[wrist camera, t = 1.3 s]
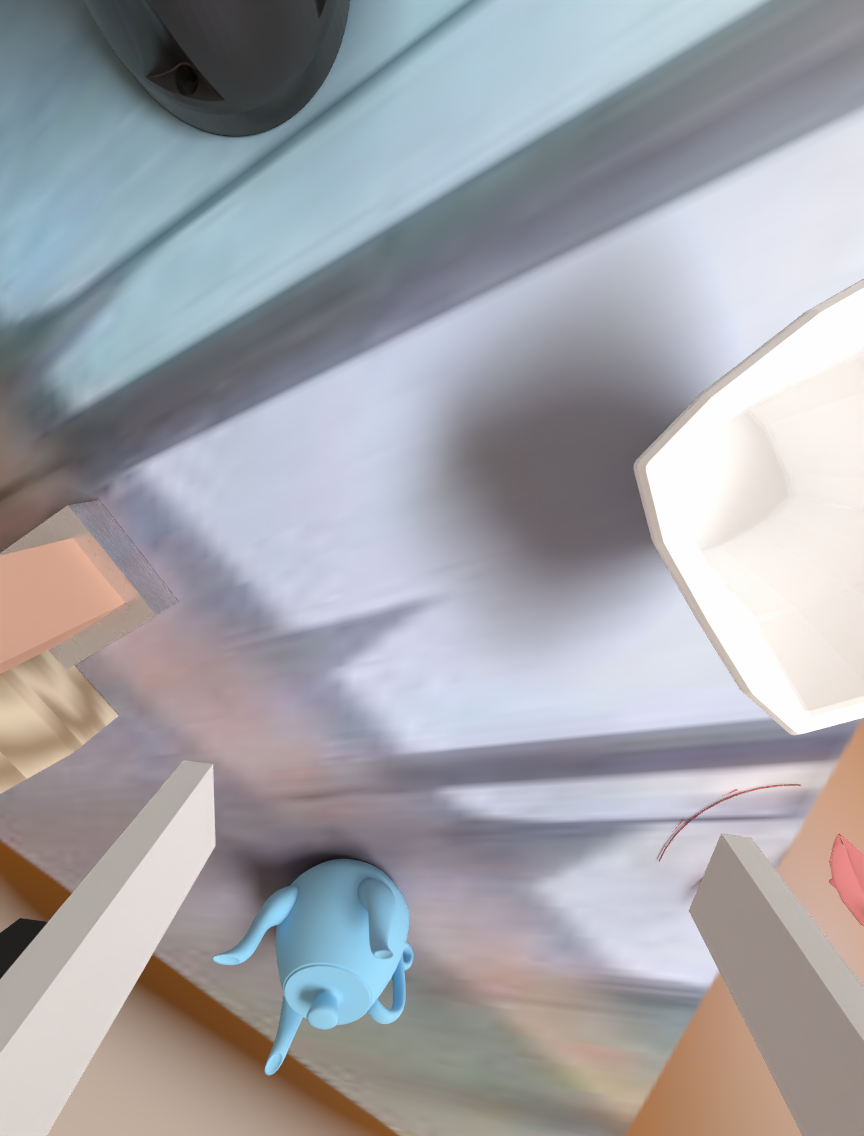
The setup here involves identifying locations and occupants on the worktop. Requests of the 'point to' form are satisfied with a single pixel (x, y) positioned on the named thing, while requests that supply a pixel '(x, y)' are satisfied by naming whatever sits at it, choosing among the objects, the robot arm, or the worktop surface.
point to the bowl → (775, 516)
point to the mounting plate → (45, 716)
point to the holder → (114, 563)
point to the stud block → (48, 599)
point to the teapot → (333, 948)
